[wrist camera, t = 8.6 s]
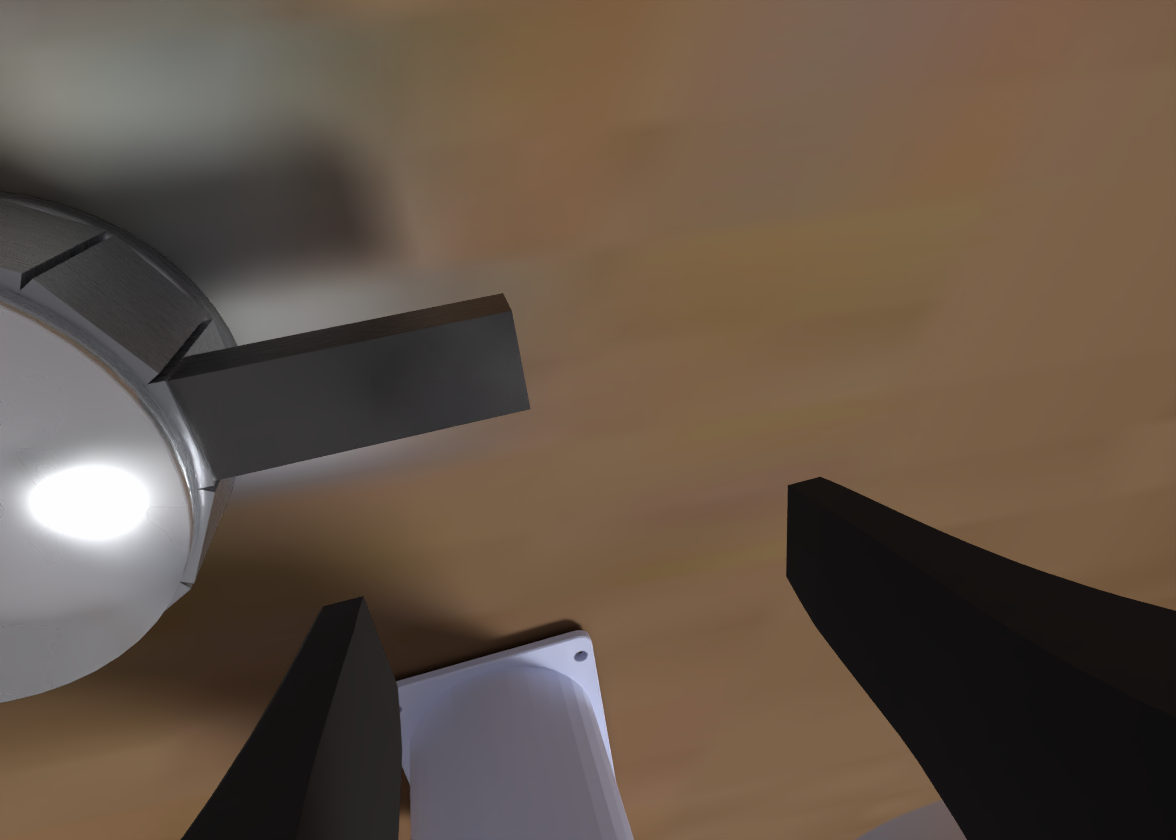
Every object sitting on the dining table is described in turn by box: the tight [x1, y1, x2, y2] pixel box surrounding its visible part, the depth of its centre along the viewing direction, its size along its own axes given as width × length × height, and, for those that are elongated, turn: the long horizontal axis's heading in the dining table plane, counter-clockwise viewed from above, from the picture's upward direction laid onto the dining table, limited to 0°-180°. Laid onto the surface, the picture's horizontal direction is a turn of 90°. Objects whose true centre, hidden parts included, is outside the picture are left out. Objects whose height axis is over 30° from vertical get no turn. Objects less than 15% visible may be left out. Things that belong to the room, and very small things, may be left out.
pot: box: [0, 192, 530, 610], centre depth 16 cm, size 10×20×5 cm, turn 97°
